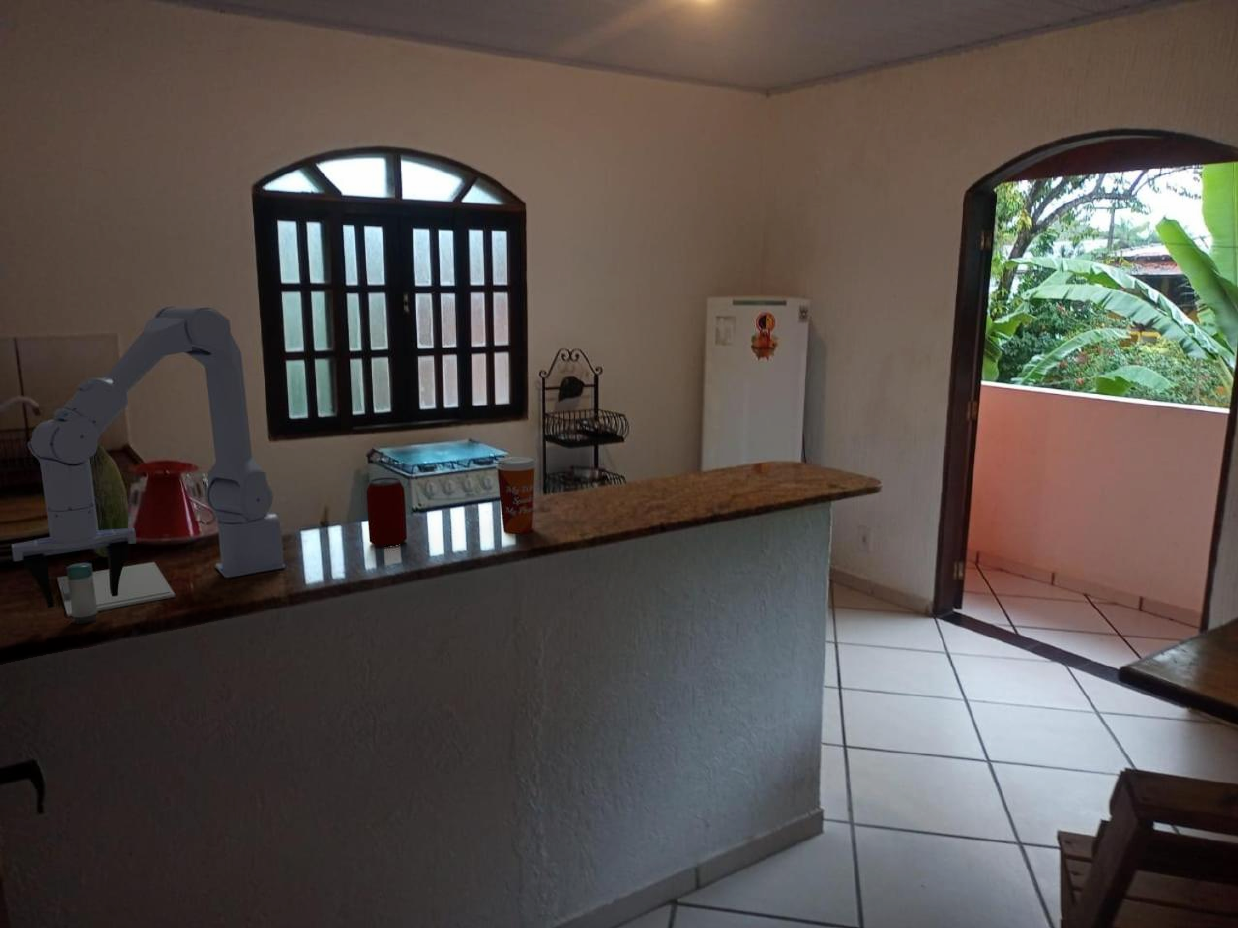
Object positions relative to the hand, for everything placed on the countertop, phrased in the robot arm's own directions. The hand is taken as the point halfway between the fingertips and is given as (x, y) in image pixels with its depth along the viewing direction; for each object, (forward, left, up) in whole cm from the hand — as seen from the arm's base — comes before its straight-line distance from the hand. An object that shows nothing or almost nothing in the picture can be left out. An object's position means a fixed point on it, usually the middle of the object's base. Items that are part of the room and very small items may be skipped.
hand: (83, 599), depth 121 cm
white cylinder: (0, 0, -3) cm, 3 cm away
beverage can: (-49, -11, -3) cm, 50 cm away
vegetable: (-7, -32, -3) cm, 33 cm away
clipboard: (-5, -13, -3) cm, 14 cm away
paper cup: (-73, -5, -3) cm, 73 cm away
